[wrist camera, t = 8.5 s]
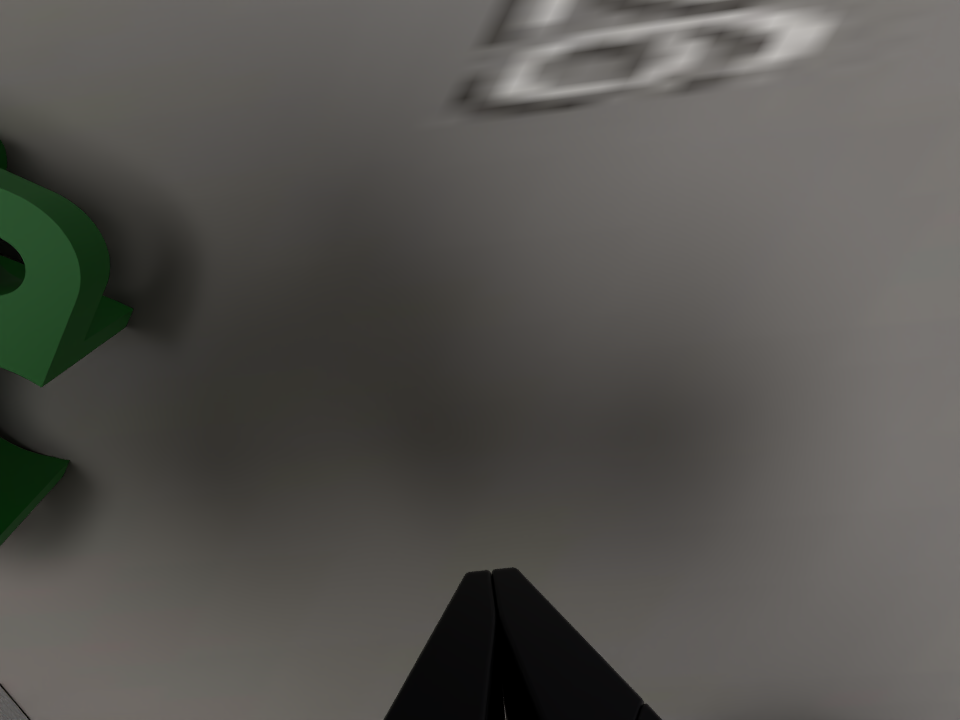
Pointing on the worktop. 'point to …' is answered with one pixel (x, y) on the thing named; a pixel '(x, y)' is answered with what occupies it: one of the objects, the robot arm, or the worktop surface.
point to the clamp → (46, 316)
